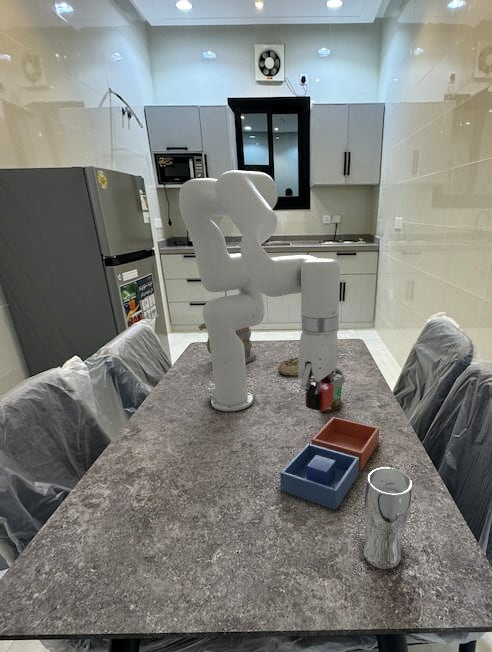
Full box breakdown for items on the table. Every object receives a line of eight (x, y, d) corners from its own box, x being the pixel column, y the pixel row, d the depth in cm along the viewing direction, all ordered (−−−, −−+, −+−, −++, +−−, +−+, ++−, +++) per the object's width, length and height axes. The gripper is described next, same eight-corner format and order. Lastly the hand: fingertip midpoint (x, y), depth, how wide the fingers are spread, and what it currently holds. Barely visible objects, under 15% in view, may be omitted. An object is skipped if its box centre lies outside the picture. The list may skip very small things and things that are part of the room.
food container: (341, 416, 107) (343, 383, 103) (320, 414, 108) (320, 381, 104) (345, 397, 118) (346, 367, 114) (325, 395, 119) (326, 365, 115)
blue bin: (280, 490, 78) (280, 472, 77) (307, 459, 88) (307, 443, 86) (335, 510, 73) (336, 491, 71) (358, 475, 83) (359, 457, 81)
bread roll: (290, 362, 146) (291, 350, 144) (314, 371, 141) (315, 359, 138) (271, 372, 138) (272, 359, 136) (296, 383, 133) (297, 370, 130)
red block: (305, 406, 84) (305, 388, 82) (315, 398, 87) (315, 380, 86) (324, 411, 82) (324, 392, 80) (333, 403, 85) (333, 384, 84)
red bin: (311, 455, 90) (311, 439, 88) (332, 431, 99) (333, 416, 98) (361, 470, 84) (362, 453, 82) (378, 443, 94) (379, 427, 92)
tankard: (254, 353, 157) (252, 317, 151) (253, 363, 146) (250, 325, 140) (205, 354, 156) (201, 318, 150) (200, 365, 145) (195, 327, 139)
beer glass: (356, 539, 66) (361, 467, 60) (395, 536, 67) (404, 465, 61) (366, 573, 60) (373, 497, 54) (410, 570, 61) (421, 494, 54)
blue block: (306, 483, 80) (306, 465, 78) (316, 472, 83) (316, 454, 81) (326, 490, 78) (326, 472, 76) (335, 478, 81) (335, 460, 79)
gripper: (322, 312, 86) (321, 387, 93) (282, 331, 72) (284, 416, 80) (353, 316, 82) (350, 393, 89) (317, 336, 69) (316, 424, 76)
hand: (319, 403), depth 84 cm, fingers closed on red block, 4 cm apart
